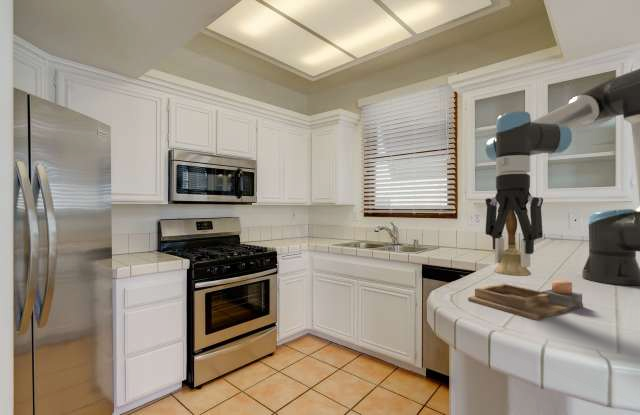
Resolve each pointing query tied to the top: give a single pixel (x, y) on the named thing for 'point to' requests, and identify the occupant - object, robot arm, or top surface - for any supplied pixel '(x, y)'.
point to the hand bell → (511, 252)
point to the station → (526, 300)
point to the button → (562, 287)
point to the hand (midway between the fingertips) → (512, 264)
